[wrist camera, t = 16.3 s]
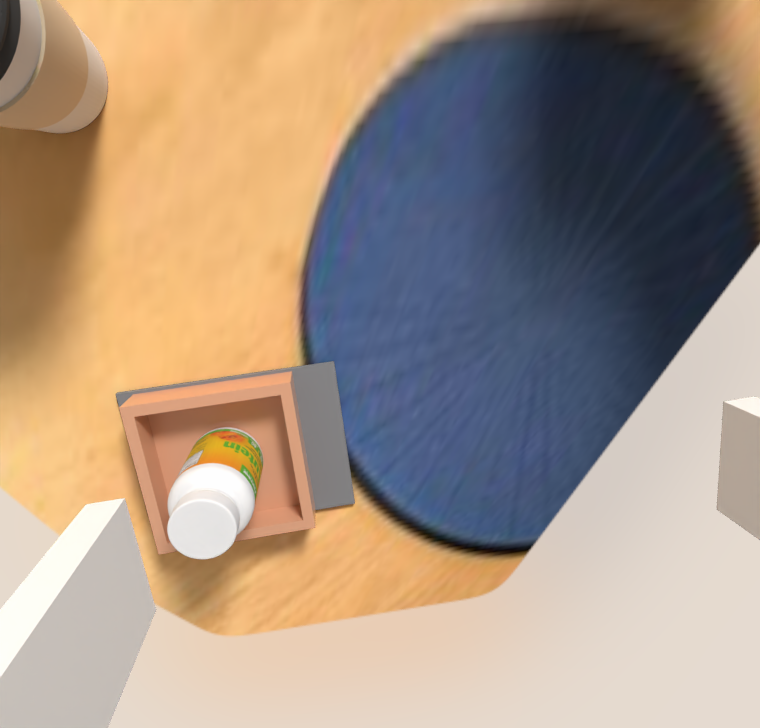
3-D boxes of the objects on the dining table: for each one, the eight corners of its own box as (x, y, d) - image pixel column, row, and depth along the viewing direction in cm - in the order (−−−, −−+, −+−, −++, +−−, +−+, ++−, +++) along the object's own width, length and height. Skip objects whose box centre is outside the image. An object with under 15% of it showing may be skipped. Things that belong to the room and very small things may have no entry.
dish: (292, 371, 39) (290, 382, 37) (315, 507, 42) (315, 527, 40) (133, 394, 38) (119, 407, 36) (169, 532, 41) (158, 554, 39)
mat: (333, 361, 40) (334, 362, 40) (354, 500, 43) (354, 503, 43) (117, 392, 39) (115, 394, 38) (155, 534, 42) (154, 537, 41)
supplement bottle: (279, 456, 40) (268, 526, 31) (231, 503, 41) (207, 586, 32) (224, 411, 39) (197, 471, 30) (175, 460, 39) (133, 534, 30)
